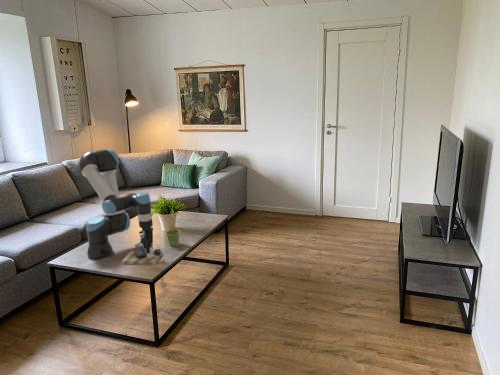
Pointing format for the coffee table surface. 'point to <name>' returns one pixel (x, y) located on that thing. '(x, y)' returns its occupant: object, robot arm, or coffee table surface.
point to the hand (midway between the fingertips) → (149, 257)
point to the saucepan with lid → (141, 251)
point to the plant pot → (173, 237)
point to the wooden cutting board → (139, 259)
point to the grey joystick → (139, 242)
